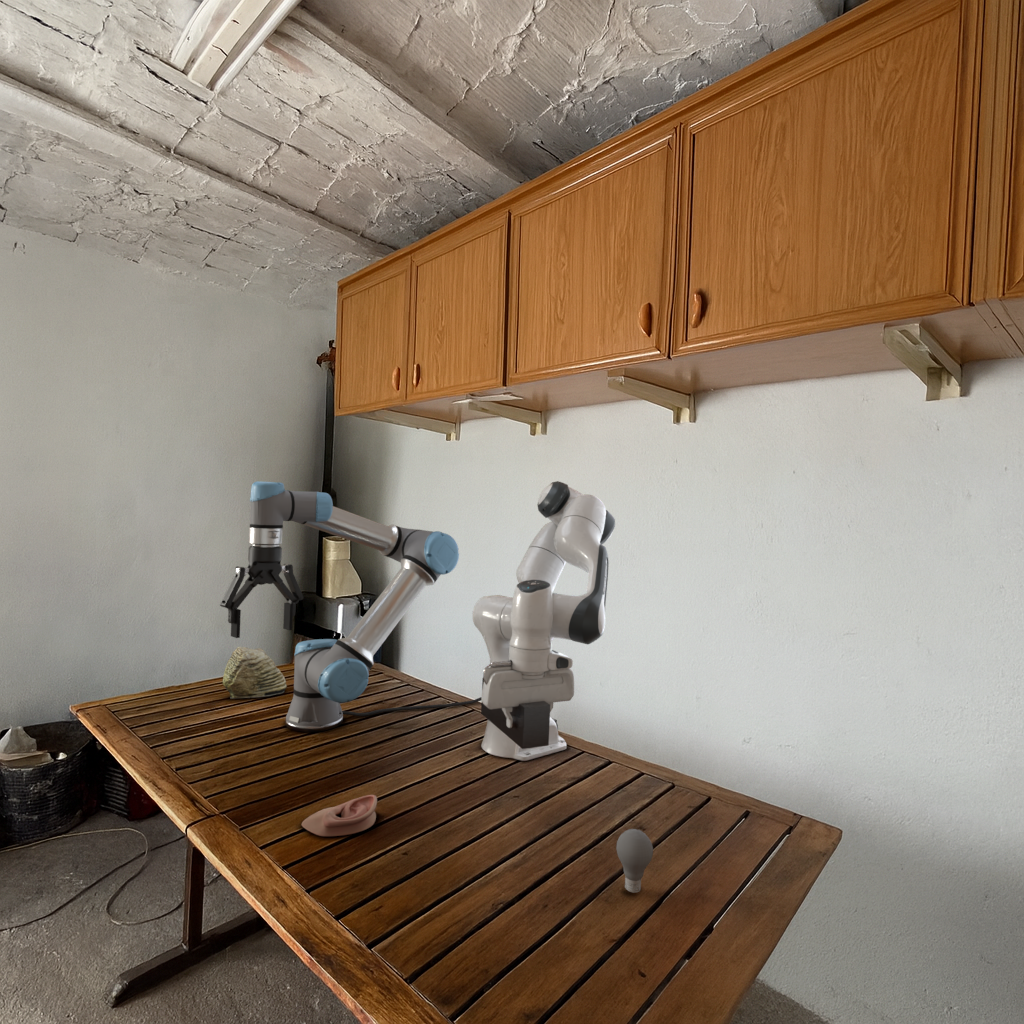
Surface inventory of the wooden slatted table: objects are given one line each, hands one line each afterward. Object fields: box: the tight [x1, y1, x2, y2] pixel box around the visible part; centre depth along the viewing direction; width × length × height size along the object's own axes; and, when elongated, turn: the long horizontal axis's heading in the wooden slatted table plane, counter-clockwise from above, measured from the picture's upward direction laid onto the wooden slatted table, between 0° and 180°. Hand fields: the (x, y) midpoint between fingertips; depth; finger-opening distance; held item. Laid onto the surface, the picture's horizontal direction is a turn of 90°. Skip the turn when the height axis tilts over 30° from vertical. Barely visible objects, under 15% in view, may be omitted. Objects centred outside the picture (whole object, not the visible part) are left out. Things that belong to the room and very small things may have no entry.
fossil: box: [222, 646, 288, 699], centre depth 198 cm, size 9×18×15 cm, turn 132°
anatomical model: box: [301, 794, 378, 837], centre depth 123 cm, size 13×4×12 cm
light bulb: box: [615, 828, 654, 894], centre depth 106 cm, size 6×6×10 cm
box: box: [480, 679, 551, 749], centre depth 138 cm, size 22×6×8 cm, turn 25°
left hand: (262, 633), depth 153 cm, fingers open, 13 cm apart
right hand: (527, 725), depth 132 cm, fingers closed on box, 6 cm apart
